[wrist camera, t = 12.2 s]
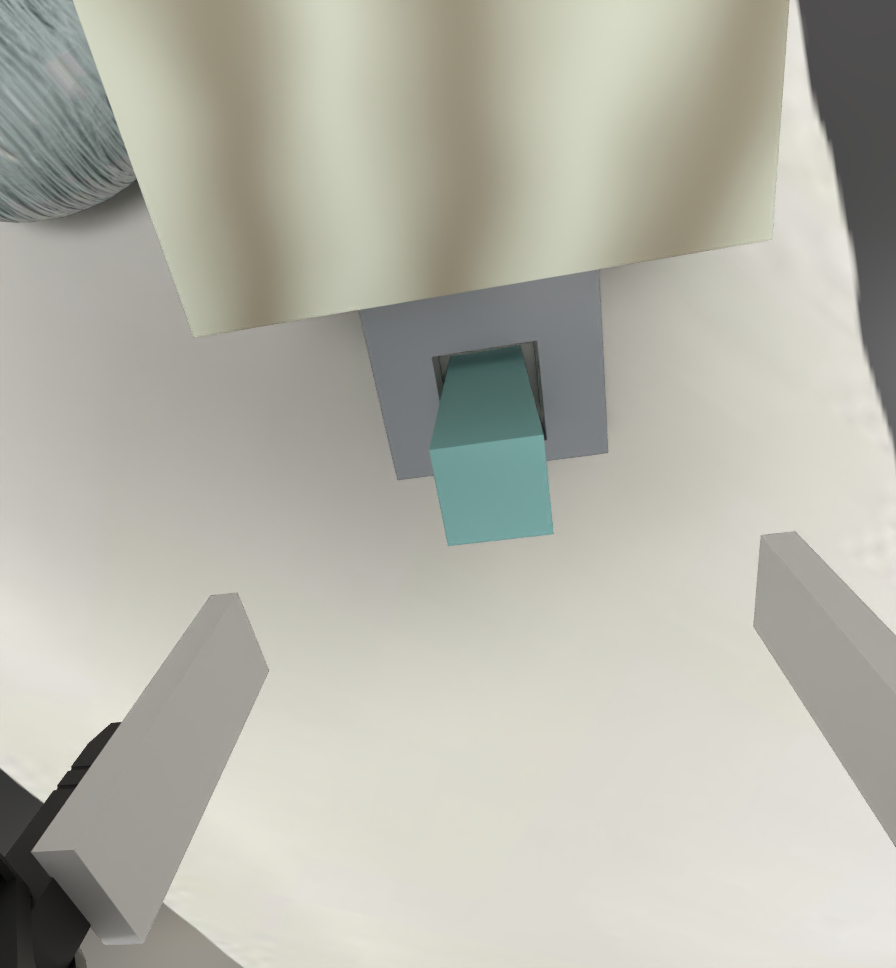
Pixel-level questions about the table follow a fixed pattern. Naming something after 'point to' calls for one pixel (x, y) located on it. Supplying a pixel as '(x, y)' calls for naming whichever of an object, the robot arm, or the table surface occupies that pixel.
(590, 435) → the socket
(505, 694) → the table surface
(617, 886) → the table surface
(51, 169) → the grey yarn spool
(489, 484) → the peg
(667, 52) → the wood grain block
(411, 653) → the table surface
